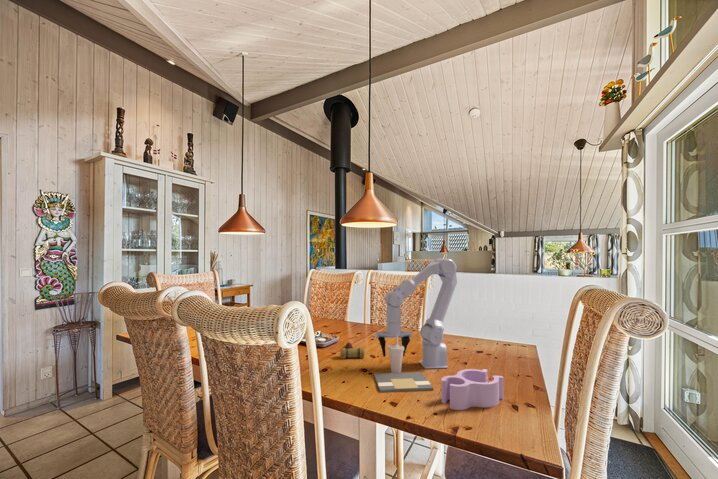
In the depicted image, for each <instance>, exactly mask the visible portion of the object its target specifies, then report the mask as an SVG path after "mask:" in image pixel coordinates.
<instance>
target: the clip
mask: <svg viewBox="0 0 718 479" xmlns="http://www.w3.org/2000/svg"><path fill="white" fill-rule="evenodd" d="M440 380H441V382H440V383H441V385H440V386H441V403H442V404H447V402H448V401H449V409H452V410H456V411H463V410H464V411H465V410H468V409H469V408H472V407H473V408H474V407H477V408H478V407H479V408H493V407H496V406H498V405H499V403H500V400H504V399H505V396H504V395H505V392H504V391H505V390H504V385H505V384H504V376H502V375H492V381H488V369H486V368H483V369H475V368H468V369H467V368H465V369H461V370H459V371H457V372H456V374H454V375H445V376H443V377H441V379H440Z"/></svg>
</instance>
